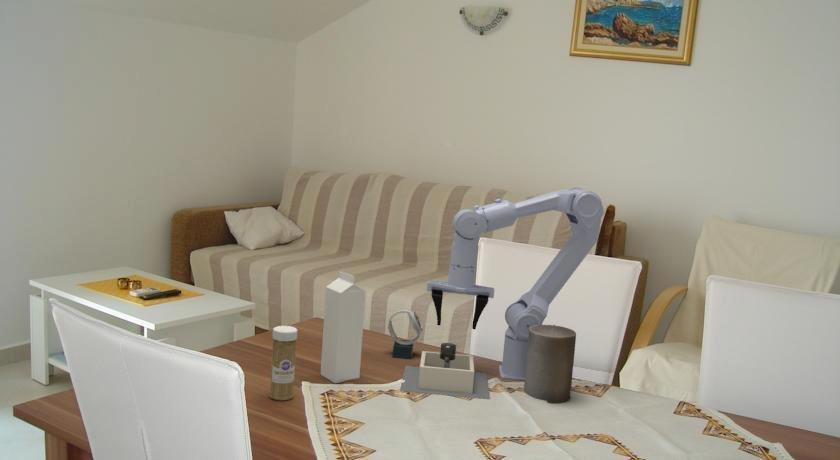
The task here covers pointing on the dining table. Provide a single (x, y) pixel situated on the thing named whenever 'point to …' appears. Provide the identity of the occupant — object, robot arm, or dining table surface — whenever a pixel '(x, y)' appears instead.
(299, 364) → the dining table surface
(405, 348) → the watch
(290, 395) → the sprinkles bottle
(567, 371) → the pillar candle
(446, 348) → the plunger
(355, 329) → the milk
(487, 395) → the slate mat
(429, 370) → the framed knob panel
